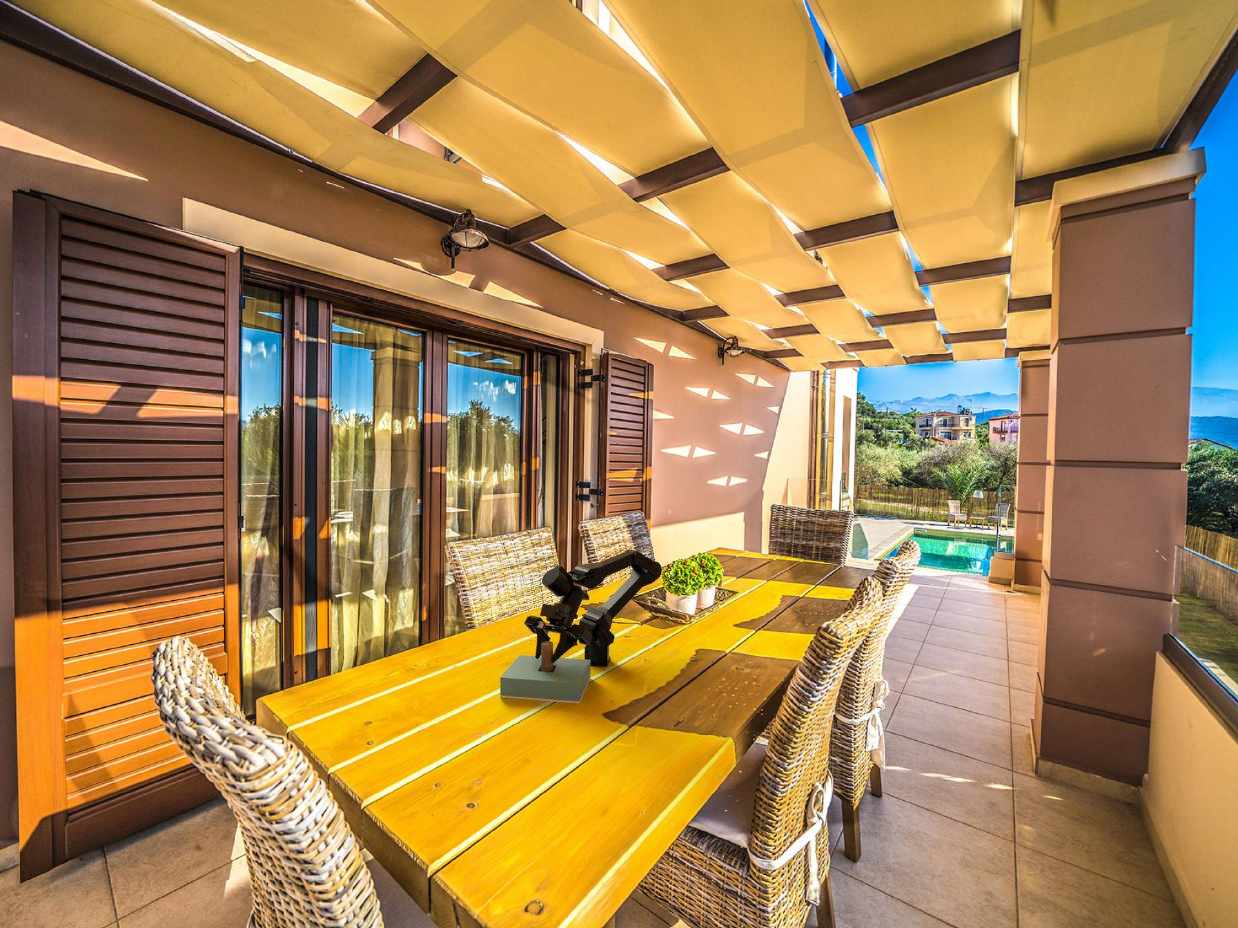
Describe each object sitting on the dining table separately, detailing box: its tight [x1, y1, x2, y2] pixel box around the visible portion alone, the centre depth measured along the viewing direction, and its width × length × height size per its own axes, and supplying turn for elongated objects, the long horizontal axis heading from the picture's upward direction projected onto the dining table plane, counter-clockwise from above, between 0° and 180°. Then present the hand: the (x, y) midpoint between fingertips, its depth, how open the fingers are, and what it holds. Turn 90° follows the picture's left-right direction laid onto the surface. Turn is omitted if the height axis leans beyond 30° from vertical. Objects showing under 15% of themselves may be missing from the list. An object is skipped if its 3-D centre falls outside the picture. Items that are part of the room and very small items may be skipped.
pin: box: [540, 640, 554, 672], centre depth 131 cm, size 3×3×11 cm
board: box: [499, 654, 592, 705], centre depth 131 cm, size 20×14×5 cm
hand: (544, 660), depth 129 cm, fingers open, 5 cm apart
